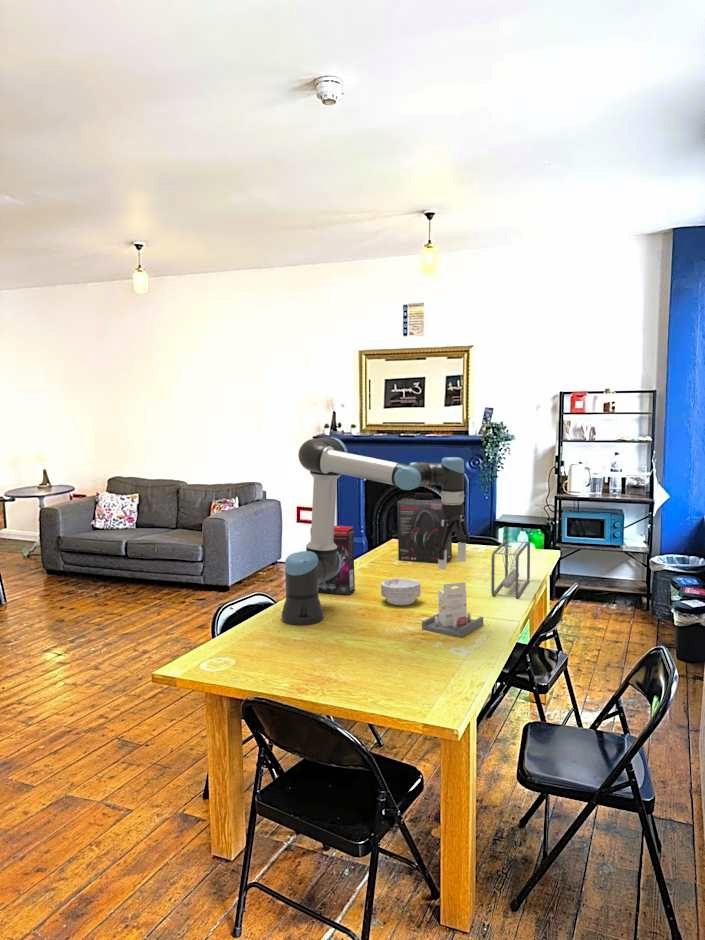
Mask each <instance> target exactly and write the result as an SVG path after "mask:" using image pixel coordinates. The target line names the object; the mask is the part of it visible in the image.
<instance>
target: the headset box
mask: <svg viewBox="0 0 705 940" xmlns="http://www.w3.org/2000/svg"><path fill="white" fill-rule="evenodd" d="M441 501H442V498H440V499H437V498H434V495H433V493H431V492H430V493H429V492H423V493H422V492H416V493H415V494H414V498H407V497H405V498H404V497H403V498H402V499H400V500H398V501H397V502H396V505H397V508H396V509H397V511H396V512H397V545H398V546H397V548H398V550H397V553H398V555H397V556H398V561H404V562H419V563H420V562H421V563H432V564H433V563H436V564H438V550H437V549H435V548H434V546H435V542H436V538H437V534H438V529H439V522H440V520H445V516H444V515H442V504H443V502H441ZM452 534H453V533H451V535H450V538H449V540H448V543H447V546H446V548H445V550H447V563H448V562H449V561H451V559H452V558H453V548H452V547H453V546H452V545H453V542H452V541H453V536H452Z"/></svg>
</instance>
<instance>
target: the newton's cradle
mask: <svg viewBox="0 0 705 940" xmlns="http://www.w3.org/2000/svg"><path fill="white" fill-rule="evenodd" d="M511 543H519V544H517V547H516V549H515V550H514V551H513V552H512V550H511V545H510V544H511ZM523 544H524V545H523ZM518 545H519V546H518ZM522 545H523V546H522ZM503 546H504V547H503ZM525 549H526V550H527V551H526V552H527V553H526V555H527V556H526V560H527V561H526V580H524V579H519V578H520V573H519V562H520V561H519V559H520V555H522V553H523V552H524V550H525ZM509 552H510V553H509ZM496 555H502V556H504V557H502V559H503V562H504V563H503V565H504V579H503V580H502V581H501V582H500V583H499V585H498V586H497V587H496V589H495V558H496ZM509 559H511V561H509ZM509 562H510V563H509ZM509 565H510V566H509ZM530 567H531V542H530V541H529V540H527V541H518V540H517V541H515V540H508V539H505V540H503V541H502V543H500V544H499V545H498V547H496V548H495V550H494V551H492V552H491V574H490V576H491V582H490V583H491V588H490V589H491V596H492V597H494V596H503V597H504V596H505V597H514V598H516V599H519V597H520V596H521V594H522V593H523V591H524V590H525V588H526V587H527V585H528V584H529V583H530V578H531V576H530V575H531V572H530V571H531V568H530ZM519 582H524V583H523V585H522V587H520V589H519ZM514 584H515V585H514ZM513 585H514V586H515V587H514V588H515V592H514V593H515V595H510V594H499V593H498V592H499V590H500V589H501V588H502V587H503V586H504V587H503V588H506V589H510V588H512V587H513Z"/></svg>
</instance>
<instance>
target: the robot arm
mask: <svg viewBox="0 0 705 940" xmlns="http://www.w3.org/2000/svg"><path fill="white" fill-rule="evenodd" d="M298 460H299V463H300V465H301V466H302V468H304V469H306V470H307V471H309V474H310V475H311V476H312V477H313V485H312V486H313V489H312V509H311V525H310V528H311V529H310V541H309V542H308V543H307V544H306V547H305V550H304V551H303V550H302V551H297V552H293V553H291V554H289V555H288V556H287V557H286V559H285V563H284V564H285V565H284V572H285V601H284V603H283V607H282V611H281V621H282V622H284V623H285V624H290V625H296V626H297V625H298V626H303V625H304V626H305V625H313V624H318V623H319V622H322V621H323V620H324V618H325V614H324V609H323V608H322V605H321V601H320V598H319V597H320V596H319V592H318V584H320V583H322V582H324V581H326V580H329V579H331V578H333V577H334V576H335V575H336V574H337V573H338V572H339V570H340V568H341V557H340V555H339V554H338V551H337V545H336V544H335V543H334V526H335V523H336V522H335V521H336V519H335V518H336V504H337V503H336V501H337V485H338V484H337V482H338V479H339V478H340V477H341V476H342V475H343V476H349V477H354V478H358V479H364V480H369V481H373V482H378V483H383V484H387V485H392V486H396V487H398V488H399V489H401V490H404V491H411V490H414V489H417V488H419V487H420V488H421V487H423V486H426V485H427V486H429V485H431V486H441V499H442V501H441V502H443V504H442V515H444V516H445V520H440V522H439V529H438V534H437V538H436V542H435V546H434V548H435V549H437V550H438V563H437V564H438V565H437V569H439V570H447V567H448V566H447V563H448V562H447V550H445V548H446V546H447V543H448V540H449V538H450V535H451V533H452V534H453V533H455V535H456V536H457V540H458V541H459V542H457V561H458V562H462V563H465V562H466V561H467V544H469V543H470V535H469V529H468V525H467V522H466V514H465V505H464V502H465V497H466V495H465V473H466V472H465V461H464V459H463V458H461V457H456V456H455V457H454V456H453V457H449V456H448V457H447V456H446V457H443V458H441V462H436V463H435V462H422V461H417V462H416V461H415V462H410V463H409V464H405V463H400V462H395V461H390V460H386V459H385V460H384V459H381V458H380V459H379V458H375V457H370V456H365V455H361V454H355V453H350V452H348V449H347V447H346V445H345V443H344V442H343V441H342V440H341V439H339V438H337V437H330V436H324V437H318V438H311V439H310V438H309V439H308V440H306V441H305V442H303V443H302V445H301V446H300V447H299V450H298Z"/></svg>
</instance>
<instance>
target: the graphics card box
mask: <svg viewBox="0 0 705 940" xmlns="http://www.w3.org/2000/svg"><path fill="white" fill-rule="evenodd" d="M354 528H355V527H354V526H353V525H352V526H346V525H344V526H343V525H334V543H335V544H336V545H337V551H338V554H339V555H340V557H341V568H340V570H339V572H338V573H337V574H336V575H335V576H334V577H333V578H331V579H329V580H326V581H324V582H322V583H320V584H318V593H321V594H322V593H323V594H337V595H348V596H349V595H351V594H353V593H354V592H355V591H356V588H355V587H356V585H355V580H356V579H355V578H356V577H355V549H354V548H355V547H354V543H355V541H354V538H355V537H354ZM310 530H311V527H310Z"/></svg>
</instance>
